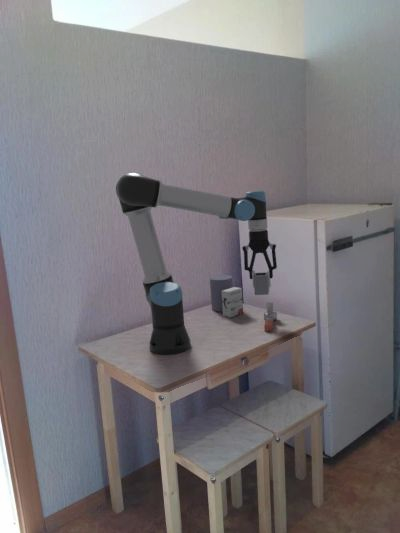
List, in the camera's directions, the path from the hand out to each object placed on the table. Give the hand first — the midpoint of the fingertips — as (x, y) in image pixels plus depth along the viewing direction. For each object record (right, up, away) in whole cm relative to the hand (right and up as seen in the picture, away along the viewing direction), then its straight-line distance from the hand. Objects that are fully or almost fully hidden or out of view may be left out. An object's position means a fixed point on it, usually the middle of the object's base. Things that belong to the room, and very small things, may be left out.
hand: (261, 286), depth 193 cm
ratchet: (+3, -16, +1) cm, 16 cm away
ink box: (-10, -14, +18) cm, 25 cm away
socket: (0, -3, 0) cm, 3 cm away
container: (-15, -12, +29) cm, 34 cm away
